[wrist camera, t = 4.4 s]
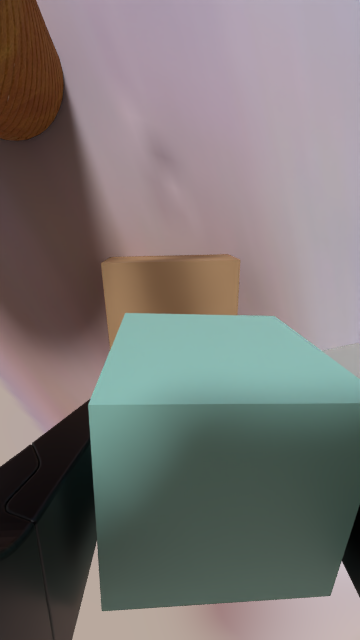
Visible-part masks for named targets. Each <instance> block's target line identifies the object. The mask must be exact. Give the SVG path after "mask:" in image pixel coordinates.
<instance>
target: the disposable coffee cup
mask: <svg viewBox="0 0 360 640" xmlns="http://www.w3.org/2000/svg"><path fill="white" fill-rule="evenodd" d="M63 86H64V85H63V72H62V68H61V64H60V59H59V56H58V54H57V52H56V49H55V47H54V44H53V42H52V40H51V37H50V35H49V32H48V30H47V27H46V25H45V22H44V19H43V17H42V15H41V12H40V9H39V7H38V5H37V2H36V0H0V138H2V139H5V140H15V141H19V140H27V139H30V138H32V137H34V136H37V135H39V134H40V133H42V132H43V131H45V130H46V129H47V128H48V127H49V125H50V124H51V123H52V122H53V121H54V119H55V117H56V115H57V113H58V111H59V108H60V105H61V102H62V97H63Z"/></svg>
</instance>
